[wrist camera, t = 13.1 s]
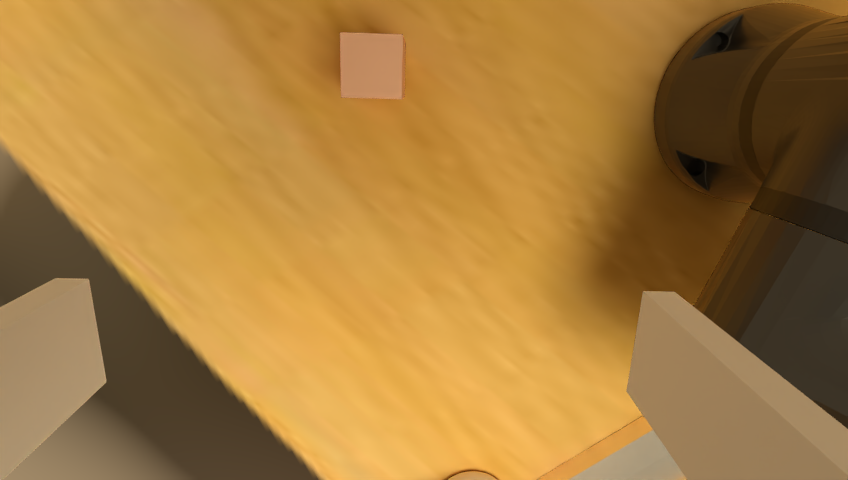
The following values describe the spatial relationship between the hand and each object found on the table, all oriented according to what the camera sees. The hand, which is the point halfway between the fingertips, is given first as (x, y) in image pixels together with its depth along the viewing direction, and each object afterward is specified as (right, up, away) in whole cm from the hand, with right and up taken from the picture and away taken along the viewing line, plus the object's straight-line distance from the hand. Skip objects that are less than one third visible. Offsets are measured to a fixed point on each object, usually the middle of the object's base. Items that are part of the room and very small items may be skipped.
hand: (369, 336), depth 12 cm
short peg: (-2, +16, +28) cm, 33 cm away
